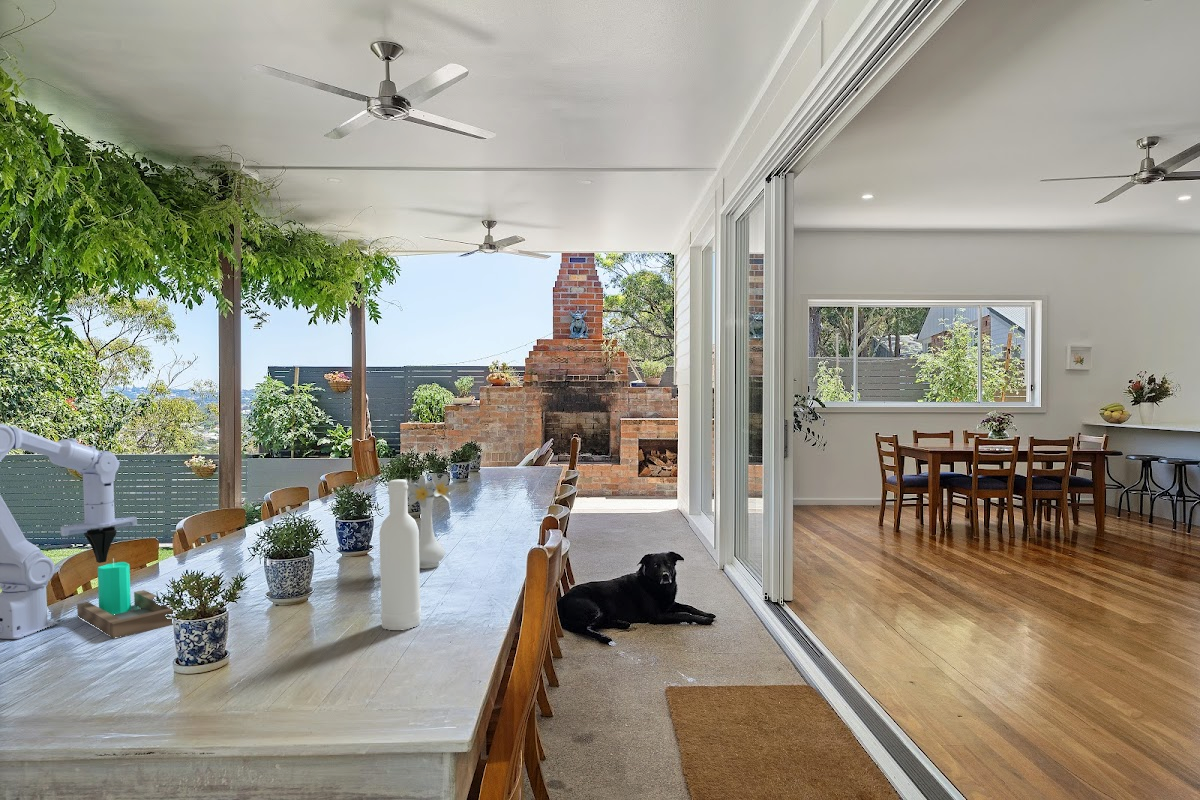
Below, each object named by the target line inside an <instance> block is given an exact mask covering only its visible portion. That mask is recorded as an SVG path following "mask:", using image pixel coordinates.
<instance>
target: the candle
mask: <svg viewBox="0 0 1200 800" xmlns="http://www.w3.org/2000/svg"><path fill="white" fill-rule="evenodd" d="M97 588H98V607H99V608H101V609H102V610H104V611H106V612H108V613H110V614H112V615H114V614H119V613H124V612H128V611H129V610H130V611H132V603H131V602H132V600H131V599H132V598H131V567H130V563H128V562H126V561H118V562H115V558H112V563H106V564H105V565H101V566H97Z"/></svg>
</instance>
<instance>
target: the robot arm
mask: <svg viewBox="0 0 1200 800" xmlns="http://www.w3.org/2000/svg"><path fill="white" fill-rule="evenodd" d="M96 448H97V447H96V446H95V445H85V444H82V443H78V439H75V438H67V439H65V438H62V439H60V440H57V441H53V440H51V439H49V438H46V437H43V436H41V435H38V434H36V433H33V432H30V431H27V430H24V429H21V428H19V427H17V426H11V425H6V424H4V423H0V462H2V460H3V459H4V458H5V457H6V456H7V455H8V454H9V452H10V451H11V450H22V451H25V452H29V453H34V454H39V455H42V456H46V457H48V459H49V461H50V463H51V464H53V465H56V466H58V467H59V466H60V467H62V468H66V469H69V470H73V471H77V474H79V475H81V476H82V483H83V484H82V488H83V489H82V490H83V510H84V511H83V512H84V513H83V515H84V522H80V523H75V524H70V525H63V526H60V536H61V537H68V536H70V535H78V534H83V535H84V537H85V539H86V540H87V541H88V543H89V545H90V548H91V549H92V552H93V553H94V557H95V562H96V563H97V564H100V563H106V562H107V559H108V554H109V551H110V547H111V546H112V542H113V541H114V539H115V537H116V536H117V532H118V531H117V530H116V529H119V528H126V527H137V526H138V517H136V516H128V517H127V516H126V517H119V518H118V517H117V518H116V515H115V514H116V513H115V489H114V486H115V485H114V482H115V480H116V473H117V471H118V470H119V468H120V464H121V463H120V462H121V461H119V460H118V458H117V456H116V455H115V454H114V453H113V452H112V451H110V450H98V449H96ZM55 569H56V567H55V563H54V560H52V558H50V557H49V556H47V555H45V554H44V553H43V552H42V549H40V548H39V547H38V546H36V545H35V544H33V543H31V542H30V541H29V540H27V538H26V537H25V536H24V533H23V532H22V530H21V528H20V526H19V525H18V523H17V522H16V519H15V518H14V515H13V514H12V512H11V511H10V509H9V507H8V506H7V504H6V502H5V500H4V499H3V497H2V495H1V494H0V590H1V592H0V639H5V640H7V639H8V640H19V639H21V638H25V637H27V636H29V635H32V634H36V633H38V632H40V630H41V631H43V630H46V629H48V628H47V627H49V628H51V627H53V626H52V625H54V626H56V625H55V624H57V625H58V624H59V621H55V620H48V602H47V601H48V599H47V598H48V597H47V586H48V585H49V581H51V580H52V578H53V576H54V573H55ZM50 626H51V627H50ZM45 628H46V629H45ZM42 629H43V630H42ZM37 631H38V632H37ZM24 636H25V637H24Z"/></svg>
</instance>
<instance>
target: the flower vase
mask: <svg viewBox="0 0 1200 800" xmlns="http://www.w3.org/2000/svg"><path fill="white" fill-rule="evenodd" d="M431 478H432V479H431V480H425V476H424V474H422V475H420V477H419V479H418V482H413V483H412V477H410V478H409V480H408V478H407V477H404V480H406V481H407V485H408V489H407V498H408V505H414V504H415V503H417V502H418V503H419V508H420V509H419V510H420V531H419V569H420V570H421V569H423V570H425V569H426V570H428V569H433V568H437V567H440V566H439V565H440V562H441V561H442V560H443V559H444V557H445V556H446V555H445V554H446V550H445V548H444V547H443V545H442V544H441V543H440V542H439V541H438V540H437V538H436V535H435V533H434V526H433V504H434V500H435V497H437V498H438V497H440V496H441V497H442V498H444V499H445V500H446V501H447V502H450V501H451V500H452V497H451V493H452V494H453V492H456V491H457V489H458V488H457V486H456V485H453V484H448V483H449V476H448V474H444V475H442V476H441V478H440V479H439V477H438V476H437V475H436V474H435V473H432V474H431ZM387 494H388V495H389V490H388V489H387Z"/></svg>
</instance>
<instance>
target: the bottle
mask: <svg viewBox="0 0 1200 800" xmlns="http://www.w3.org/2000/svg"><path fill="white" fill-rule="evenodd" d="M404 479H405V478H404ZM404 479H391V480H389V481H388V488H387V491H388V490H389V494H388V499H389V505H388V506H389V514H388V516H387V517H386V518H385V519H383V521H382V523H381V526H380V530H379V566H380V568H379V570H380V575H379V576H380V603H381V604H380V606H381V607H380V610H381V611H380V620H381V627H382V628H383V629H384V628H385V629H384V630H386V629H389V630H388V631H390V630H401V629H408V630H410V629H409V628H412V629H414V628H413V627H415V628H417V627H418V626H420V625H421V622H422V619H421V616H422V608H421V581H420V580H421V579H420V577H421V575H420V570H421V569H420V568H419V536H420V531H419V529H420V528H419V527H418V524H417V522H416V521H417V520H416V519H415V518H413V517H412V516H411V515H410V514H409V509H408V508H409V507H408V505H409V504H408V500H409V498H408V496H407V489H408V485H407V481H406V480H404ZM416 626H417V627H416Z"/></svg>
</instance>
